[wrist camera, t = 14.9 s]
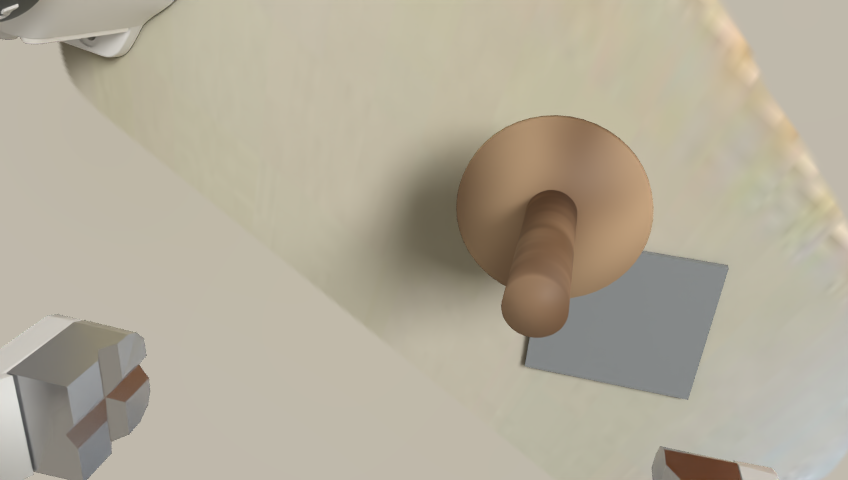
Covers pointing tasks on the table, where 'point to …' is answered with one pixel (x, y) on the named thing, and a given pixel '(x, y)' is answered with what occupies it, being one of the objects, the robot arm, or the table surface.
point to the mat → (638, 327)
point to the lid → (553, 215)
